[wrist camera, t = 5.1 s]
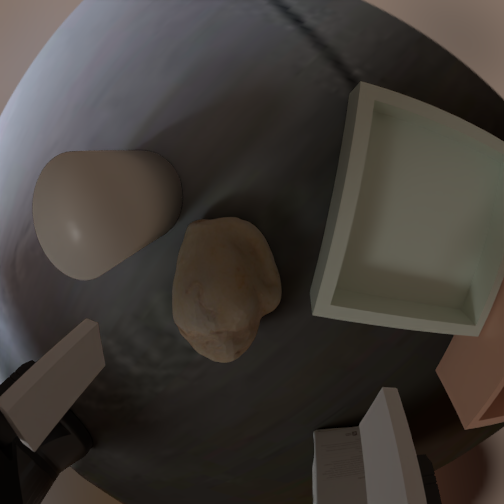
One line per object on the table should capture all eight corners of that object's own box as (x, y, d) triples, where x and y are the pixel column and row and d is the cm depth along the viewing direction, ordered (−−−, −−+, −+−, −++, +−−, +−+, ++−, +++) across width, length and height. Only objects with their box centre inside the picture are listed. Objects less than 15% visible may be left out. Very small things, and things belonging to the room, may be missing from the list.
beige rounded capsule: (104, 232, 19) (36, 265, 12) (108, 148, 17) (34, 151, 10) (178, 247, 18) (122, 293, 12) (188, 154, 16) (127, 153, 10)
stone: (182, 266, 22) (198, 370, 18) (146, 224, 16) (159, 364, 12) (268, 243, 22) (296, 349, 18) (259, 193, 16) (300, 335, 12)
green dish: (309, 291, 18) (312, 315, 15) (349, 94, 14) (360, 81, 11) (460, 316, 17) (478, 336, 14) (504, 156, 13) (530, 158, 10)
